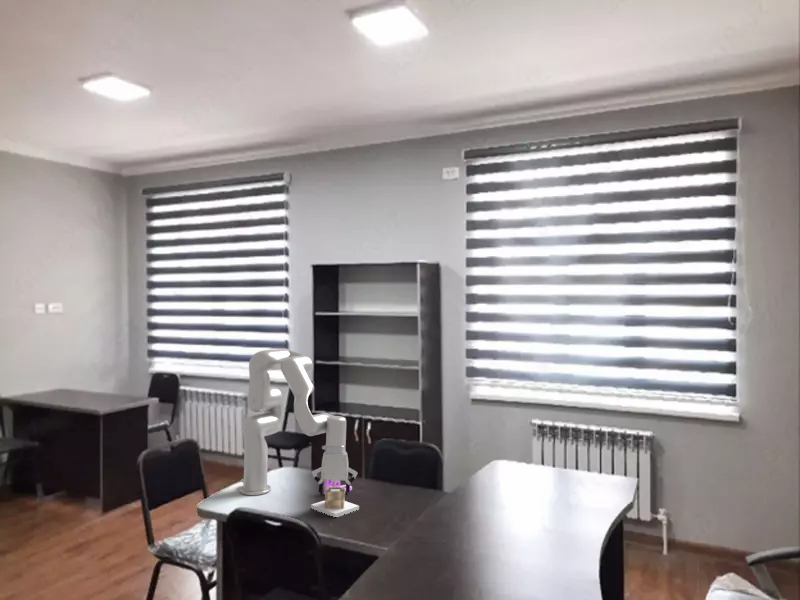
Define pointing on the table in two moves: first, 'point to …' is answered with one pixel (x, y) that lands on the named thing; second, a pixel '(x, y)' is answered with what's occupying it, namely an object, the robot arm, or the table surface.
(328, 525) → the table surface
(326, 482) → the bracket
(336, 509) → the plate
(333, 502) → the wooden collar
